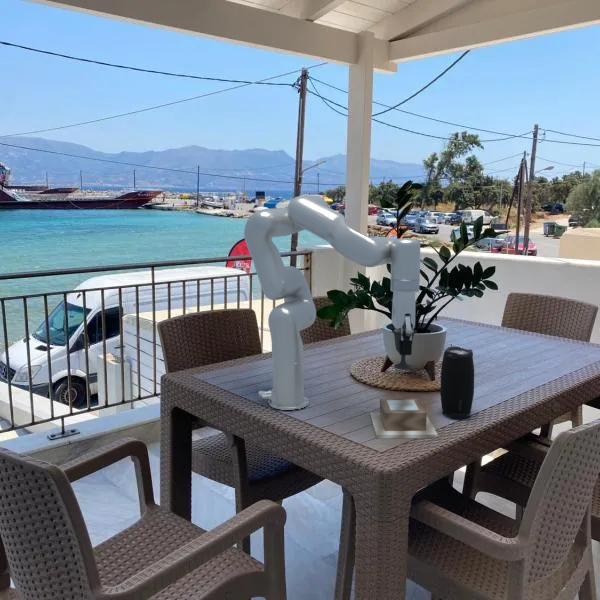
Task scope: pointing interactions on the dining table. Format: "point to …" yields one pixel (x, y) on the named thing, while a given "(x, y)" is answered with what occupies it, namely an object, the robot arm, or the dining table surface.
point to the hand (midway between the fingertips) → (403, 351)
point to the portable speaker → (457, 382)
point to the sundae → (397, 337)
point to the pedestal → (402, 420)
